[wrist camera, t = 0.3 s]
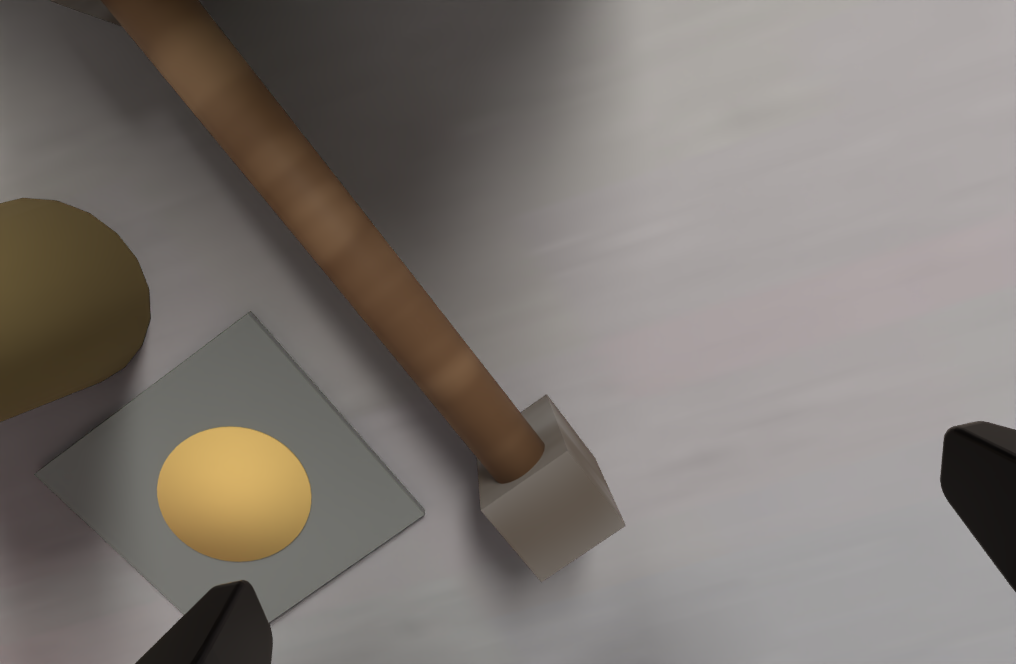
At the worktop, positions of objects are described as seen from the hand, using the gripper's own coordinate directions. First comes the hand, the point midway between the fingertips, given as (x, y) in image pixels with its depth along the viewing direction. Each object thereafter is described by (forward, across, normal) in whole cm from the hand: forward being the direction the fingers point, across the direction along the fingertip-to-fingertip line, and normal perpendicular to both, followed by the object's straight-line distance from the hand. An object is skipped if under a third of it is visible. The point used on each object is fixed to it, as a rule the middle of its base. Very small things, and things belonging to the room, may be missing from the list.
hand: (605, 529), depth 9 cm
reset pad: (+13, +10, +6) cm, 18 cm away
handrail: (+14, +4, -1) cm, 15 cm away
